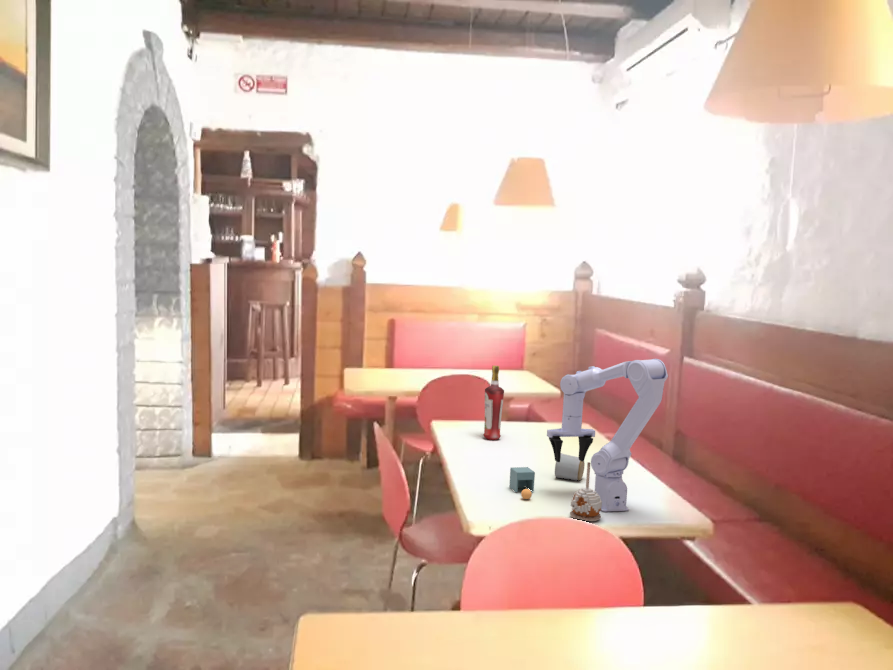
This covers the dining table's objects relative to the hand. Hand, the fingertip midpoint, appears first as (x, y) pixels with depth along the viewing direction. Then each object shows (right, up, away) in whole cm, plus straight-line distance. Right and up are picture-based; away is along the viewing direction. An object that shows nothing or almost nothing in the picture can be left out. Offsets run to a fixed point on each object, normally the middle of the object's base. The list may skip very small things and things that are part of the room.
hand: (569, 460), depth 220 cm
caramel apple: (+1, -12, -22) cm, 25 cm away
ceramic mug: (+3, -8, +17) cm, 19 cm away
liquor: (-19, -3, +66) cm, 69 cm away
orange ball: (-14, -10, -8) cm, 18 cm away
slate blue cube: (-14, -9, +1) cm, 17 cm away
